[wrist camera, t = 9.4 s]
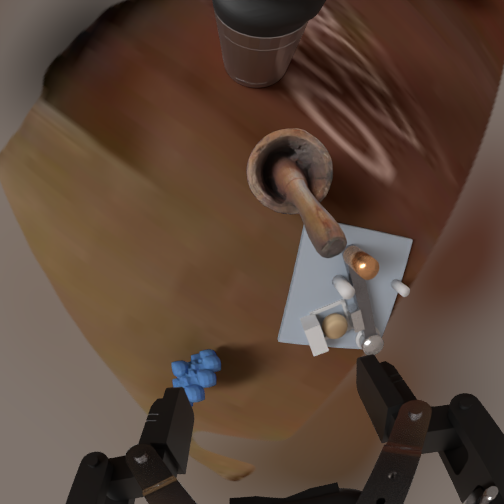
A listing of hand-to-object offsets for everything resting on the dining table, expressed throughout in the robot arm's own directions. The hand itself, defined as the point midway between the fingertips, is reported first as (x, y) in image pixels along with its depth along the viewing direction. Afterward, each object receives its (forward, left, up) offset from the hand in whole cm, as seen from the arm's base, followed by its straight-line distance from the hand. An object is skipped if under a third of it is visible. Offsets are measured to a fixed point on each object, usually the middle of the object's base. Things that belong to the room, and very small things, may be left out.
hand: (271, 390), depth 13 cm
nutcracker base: (+6, +16, -32) cm, 36 cm away
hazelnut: (+11, +15, -31) cm, 36 cm away
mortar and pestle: (-9, +3, -32) cm, 34 cm away
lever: (+6, +18, -30) cm, 36 cm away
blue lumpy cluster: (+21, -6, -32) cm, 39 cm away
